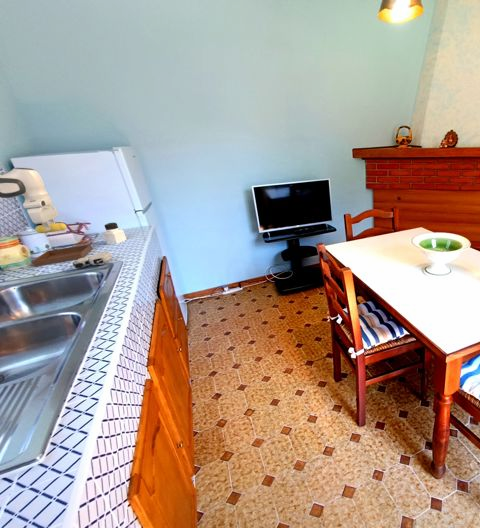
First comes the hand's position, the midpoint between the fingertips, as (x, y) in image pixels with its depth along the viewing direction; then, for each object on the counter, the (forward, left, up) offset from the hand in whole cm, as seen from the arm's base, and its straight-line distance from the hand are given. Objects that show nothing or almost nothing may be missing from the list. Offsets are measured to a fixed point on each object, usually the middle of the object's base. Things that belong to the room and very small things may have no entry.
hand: (51, 228), depth 153 cm
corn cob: (0, 0, -2) cm, 2 cm away
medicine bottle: (+20, +18, -16) cm, 32 cm away
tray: (0, +1, -16) cm, 16 cm away
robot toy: (+18, -24, -16) cm, 34 cm away
